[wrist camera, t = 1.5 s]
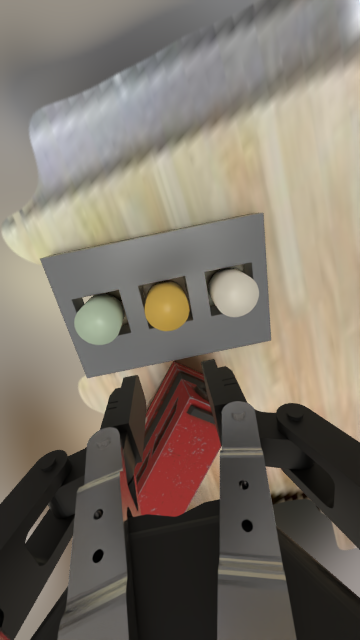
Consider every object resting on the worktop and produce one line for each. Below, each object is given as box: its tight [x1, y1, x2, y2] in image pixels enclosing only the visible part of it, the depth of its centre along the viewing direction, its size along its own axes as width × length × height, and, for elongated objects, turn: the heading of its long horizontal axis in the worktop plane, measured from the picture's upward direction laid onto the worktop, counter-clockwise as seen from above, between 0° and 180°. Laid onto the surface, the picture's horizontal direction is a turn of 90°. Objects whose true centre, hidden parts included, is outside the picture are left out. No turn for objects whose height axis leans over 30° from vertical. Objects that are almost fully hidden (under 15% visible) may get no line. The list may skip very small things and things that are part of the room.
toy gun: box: [134, 361, 221, 517], centre depth 31 cm, size 5×24×15 cm, turn 151°
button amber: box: [145, 281, 189, 331], centre depth 26 cm, size 4×4×4 cm
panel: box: [40, 213, 271, 378], centre depth 28 cm, size 22×14×3 cm, turn 101°
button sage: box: [74, 294, 125, 345], centre depth 26 cm, size 4×4×4 cm
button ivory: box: [208, 268, 259, 317], centre depth 26 cm, size 4×4×4 cm
